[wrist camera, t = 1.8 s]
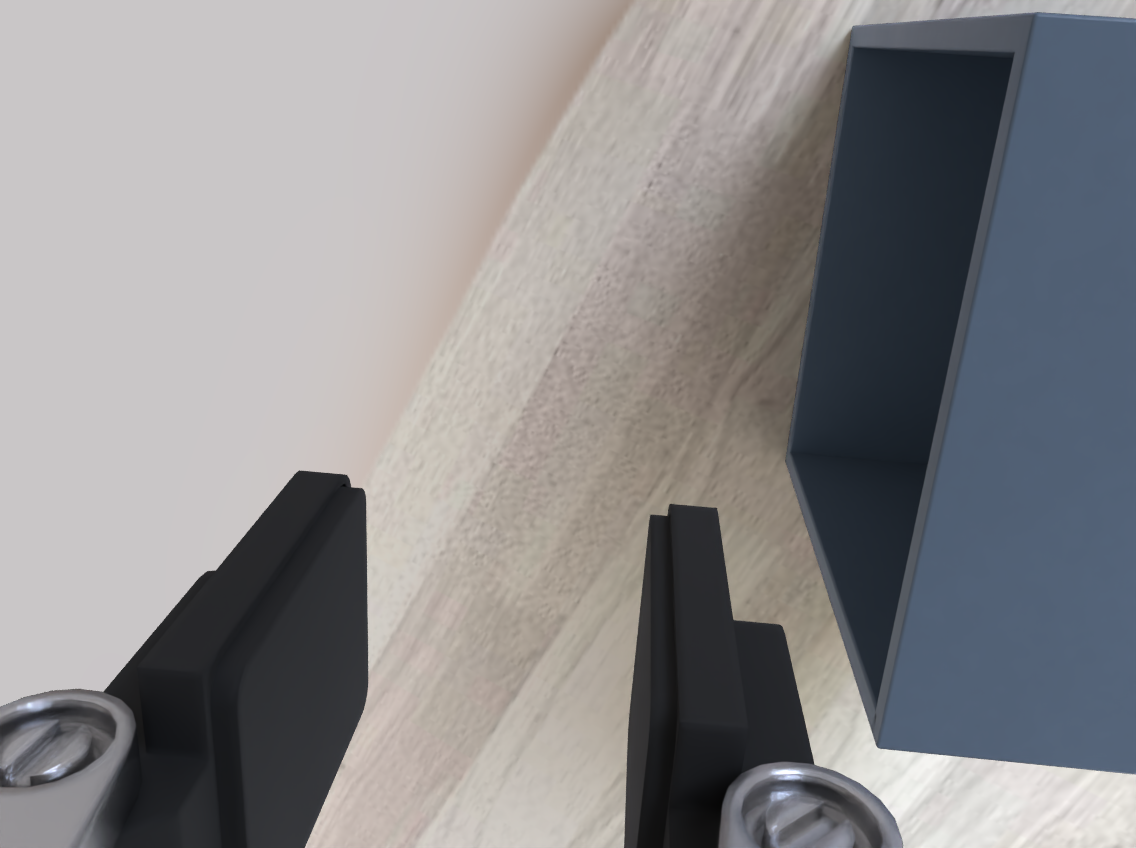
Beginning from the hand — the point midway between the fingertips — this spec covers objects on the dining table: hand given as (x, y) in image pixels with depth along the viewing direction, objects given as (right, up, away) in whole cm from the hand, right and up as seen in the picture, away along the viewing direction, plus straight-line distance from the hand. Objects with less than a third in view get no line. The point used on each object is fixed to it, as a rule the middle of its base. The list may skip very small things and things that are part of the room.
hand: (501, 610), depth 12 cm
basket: (+13, +7, +20) cm, 25 cm away
